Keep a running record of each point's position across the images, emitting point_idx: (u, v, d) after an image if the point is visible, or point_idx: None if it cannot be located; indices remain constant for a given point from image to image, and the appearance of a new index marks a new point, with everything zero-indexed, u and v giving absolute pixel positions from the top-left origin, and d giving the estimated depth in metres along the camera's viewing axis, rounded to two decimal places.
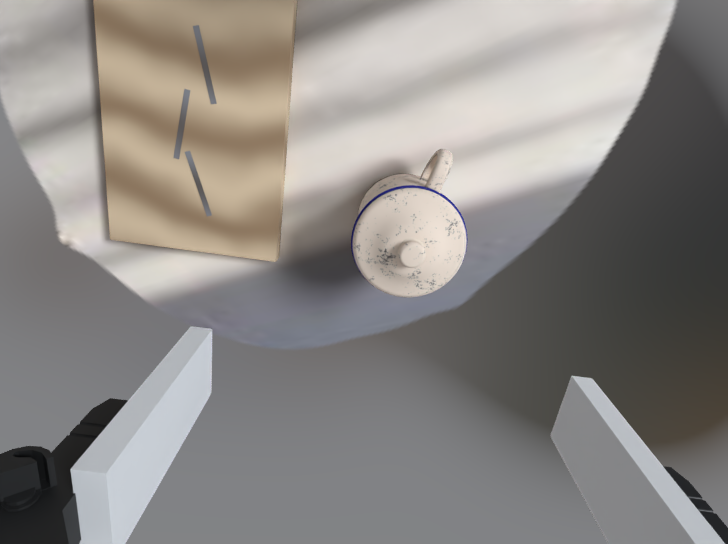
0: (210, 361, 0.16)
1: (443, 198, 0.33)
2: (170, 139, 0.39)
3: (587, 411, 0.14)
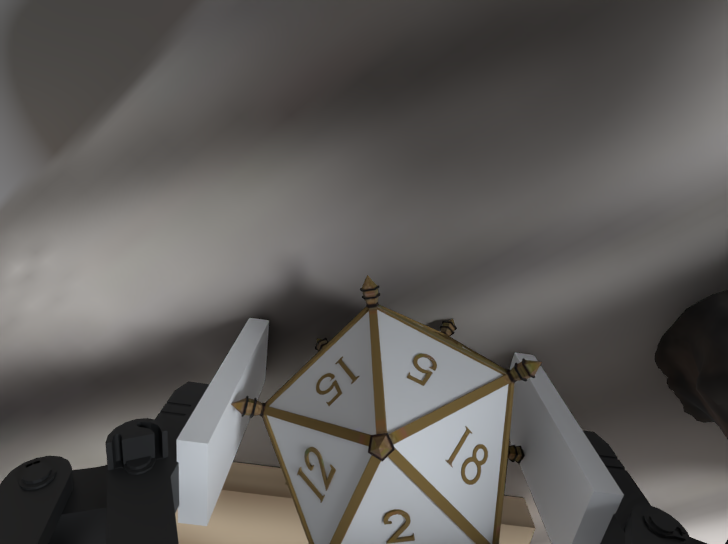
0: (266, 350, 0.17)
1: None
2: None
3: (524, 383, 0.16)
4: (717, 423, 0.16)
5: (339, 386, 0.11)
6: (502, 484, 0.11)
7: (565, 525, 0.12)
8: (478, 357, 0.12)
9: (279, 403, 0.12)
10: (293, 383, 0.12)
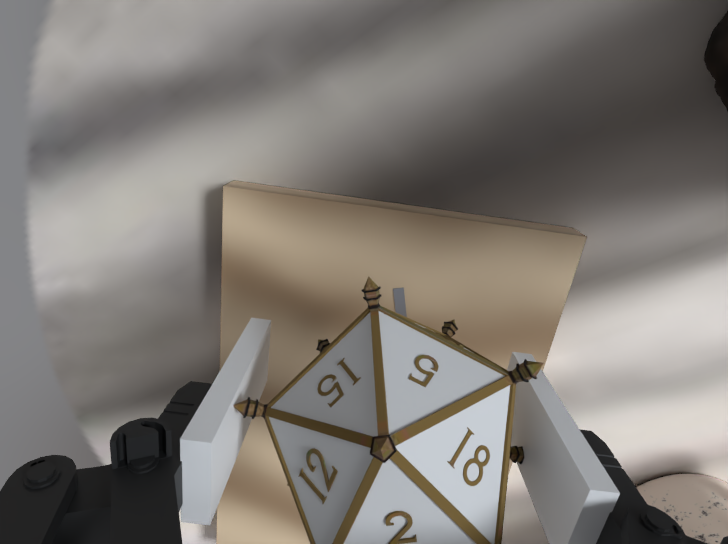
0: (268, 350, 0.17)
1: None
2: None
3: (522, 382, 0.16)
4: None
5: (340, 388, 0.11)
6: (504, 485, 0.11)
7: (562, 523, 0.12)
8: (480, 358, 0.12)
9: (281, 404, 0.12)
10: (295, 384, 0.12)
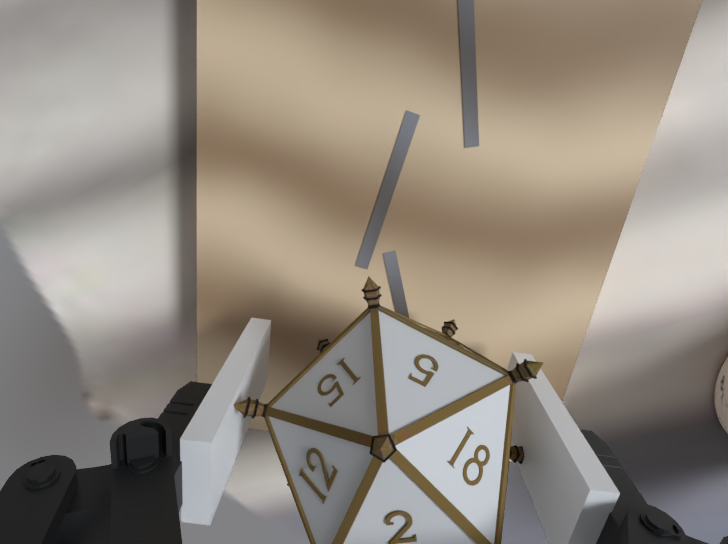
0: (268, 350, 0.17)
1: None
2: (353, 226, 0.17)
3: (522, 382, 0.16)
4: None
5: (340, 387, 0.12)
6: (504, 485, 0.11)
7: (562, 523, 0.12)
8: (480, 358, 0.12)
9: (281, 404, 0.12)
10: (295, 384, 0.12)
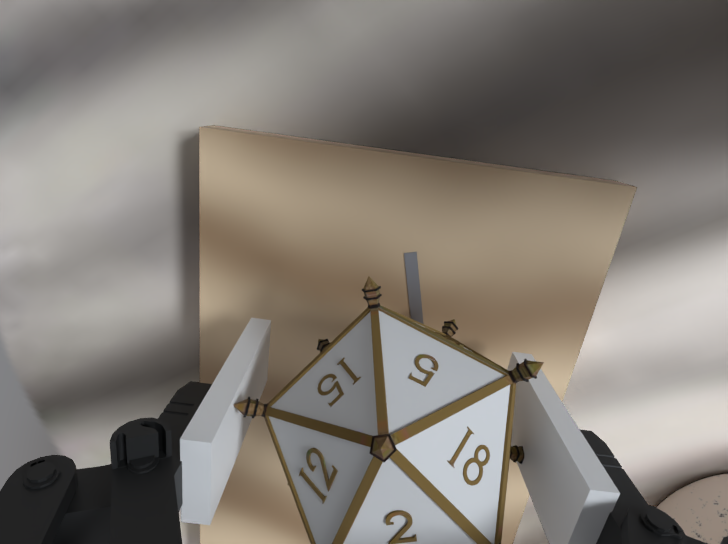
0: (268, 350, 0.17)
1: None
2: None
3: (522, 382, 0.16)
4: None
5: (340, 387, 0.11)
6: (504, 485, 0.11)
7: (562, 523, 0.12)
8: (480, 358, 0.12)
9: (281, 404, 0.12)
10: (295, 384, 0.12)
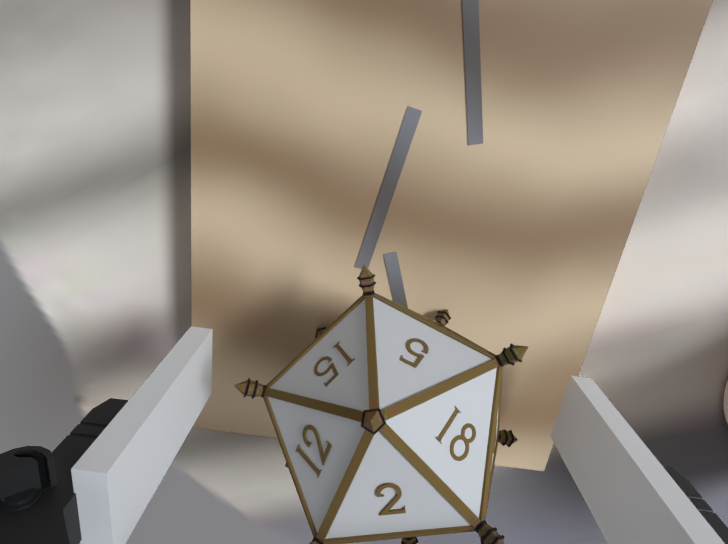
0: (210, 361, 0.16)
1: None
2: (353, 226, 0.16)
3: (586, 411, 0.14)
4: None
5: (335, 368, 0.12)
6: (489, 462, 0.12)
7: None
8: (468, 342, 0.13)
9: (279, 385, 0.13)
10: (292, 366, 0.13)
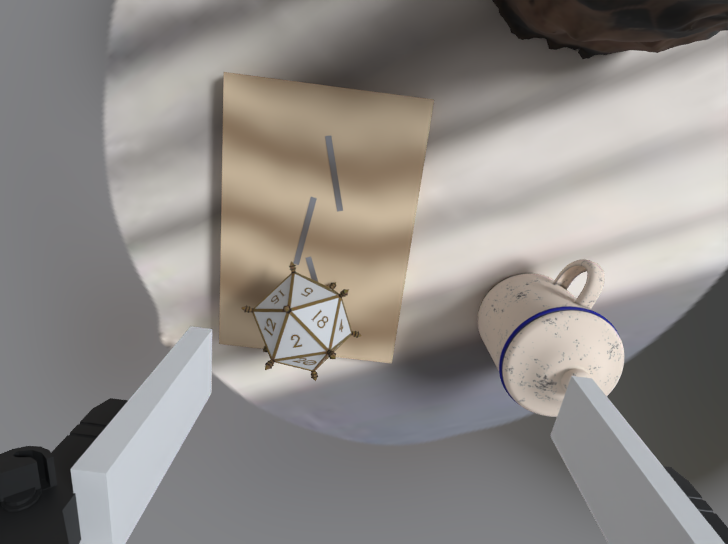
0: (210, 361, 0.16)
1: (603, 320, 0.31)
2: (291, 245, 0.37)
3: (587, 411, 0.14)
4: (516, 12, 0.31)
5: (278, 298, 0.33)
6: (333, 330, 0.33)
7: None
8: (329, 289, 0.34)
9: (258, 307, 0.34)
10: (263, 300, 0.34)
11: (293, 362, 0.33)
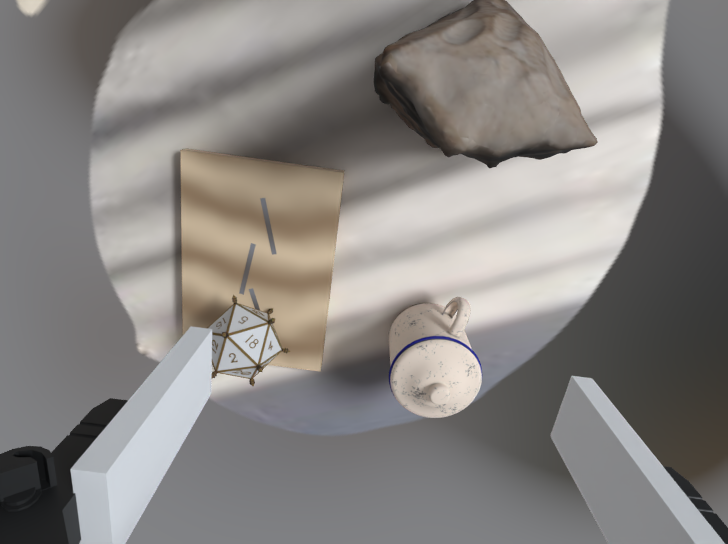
0: (210, 361, 0.16)
1: (463, 347, 0.41)
2: (237, 279, 0.47)
3: (587, 411, 0.14)
4: None
5: (221, 324, 0.43)
6: (262, 349, 0.43)
7: None
8: (261, 317, 0.44)
9: None
10: (211, 325, 0.44)
11: (232, 373, 0.44)
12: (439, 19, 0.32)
